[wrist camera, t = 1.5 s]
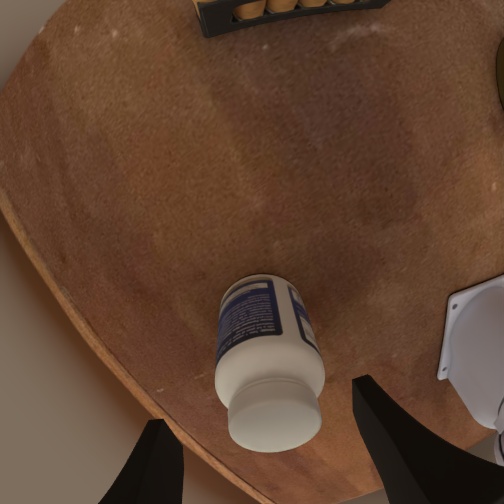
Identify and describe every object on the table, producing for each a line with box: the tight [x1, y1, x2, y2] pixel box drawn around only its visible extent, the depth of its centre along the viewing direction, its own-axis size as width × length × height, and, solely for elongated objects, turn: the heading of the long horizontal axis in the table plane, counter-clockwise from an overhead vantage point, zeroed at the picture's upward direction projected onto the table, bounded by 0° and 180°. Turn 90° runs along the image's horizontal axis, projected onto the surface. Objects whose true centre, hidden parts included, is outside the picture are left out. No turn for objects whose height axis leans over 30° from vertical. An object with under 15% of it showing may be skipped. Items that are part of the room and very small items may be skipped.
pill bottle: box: [215, 274, 325, 452], centre depth 17 cm, size 5×5×10 cm
